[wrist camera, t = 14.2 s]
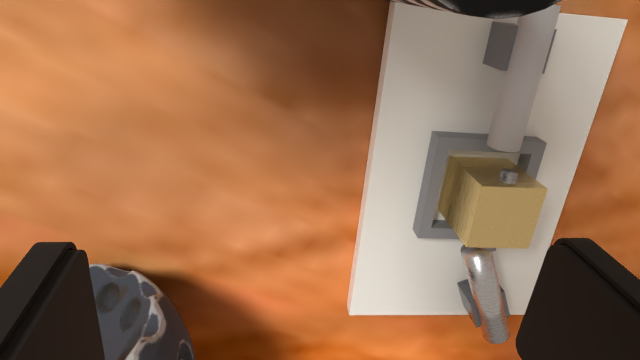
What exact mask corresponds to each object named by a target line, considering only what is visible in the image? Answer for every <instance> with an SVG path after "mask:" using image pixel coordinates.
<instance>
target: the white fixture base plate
mask: <svg viewBox="0 0 640 360" xmlns="http://www.w3.org/2000/svg"><path fill="white" fill-rule="evenodd" d="M560 9H561V5H552V6H550V7H548V8H546V9H544V10H541V11H538V12H534V13H531V14H528V15H525V16H521V17H513V18H503V19H490V18H482V17H474V16H468V15H462V14H457V13H452V12H446V11H441V10H435V9H430V8H425V7H419V6H414V5H408V4H403V3H398V2H392V1H390V6H389V13H388V20H387V27H386V34H385V41H384V48H383V55H382V62H381V69H380V76H379V83H378V90H377V97H376V104H375V111H374V118H373V125H372V132H371V139H370V146H369V153H368V160H367V167H366V174H365V181H364V188H363V195H362V202H361V209H360V216H359V223H358V230H357V237H356V244H355V251H354V258H353V265H352V272H351V279H350V286H349V293H348V300H347V308H348V312H349V315H469V314H468V313H467V311H466V309H465V308H464V306H463V303H462V299H461V296H460V292H459V288H458V285H457V282H460V281H463V280H466V279H468V278H467V274H466V270H465V266H464V262H463V259H462V255H461V247H462V246H463V245H464V244H463V243H462V241H461V240H460V238H459V237H458V236H457V234H456V233H455V232H454V230H453V229H452V228H451V226H450V225H449V224H448V222H447V221H446V220H445V218H444V217H443V216H442V214H441V213H440V211H439V210H438V207H439V203H440V198H441V194H442V189H443V185H444V180H445V176H446V171H447V167H448V162H449V158H450V155H453V156H472V157H492V158H507V159H509V160H510V161H511V162H513V163H514V164H515V165H517V166H518V167H519V168H521V169H522V170H523V171H525V172H526V173H527V174H529V175H530V176H531V177H533V178H534V179H535V180H537V181H538V182H539V183H541V184H542V185H543V186H545V187H546V188H547V189H548V190H547V194H546V197H545V200H544V203H543V206H542V209H541V212H540V215H539V218H538V221H537V224H536V227H535V230H534V233H533V236H532V239H531V242H530V245H529V249H522V248H496V251H492V255H493V260H494V264H495V269H496V273H497V277H498V282H499V285H500V286H501V287H502V288H503V290H504V291H505V295H506V300H507V304H508V309H509V313H510V315H524V314H525V312H526V309H527V306H528V303H529V300H530V298H531V295H532V292H533V289H534V286H535V283H536V281H537V278H538V275H539V272H540V269H541V267H542V264H543V261H544V258H545V255H546V252H547V250H548V248H549V246H550V243H551V241H552V238H553V235H554V232H555V229H556V226H557V223H558V220H559V217H560V215H561V212H562V209H563V206H564V203H565V200H566V197H567V194H568V191H569V189H570V186H571V183H572V180H573V177H574V174H575V171H576V168H577V165H578V163H579V160H580V157H581V154H582V151H583V148H584V145H585V142H586V139H587V137H588V134H589V131H590V128H591V125H592V122H593V119H594V116H595V114H596V111H597V108H598V105H599V102H600V99H601V96H602V93H603V90H604V88H605V85H606V82H607V79H608V76H609V73H610V70H611V67H612V64H613V62H614V59H615V56H616V53H617V50H618V47H619V44H620V41H621V38H622V36H623V33H624V30H625V27H626V24H627V21H628V20H627V19H618V18H608V17H598V16H588V15H578V14H567V13H559V12H560Z"/></svg>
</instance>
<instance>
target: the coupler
mask: <svg viewBox="0 0 640 360" xmlns="http://www.w3.org/2000/svg"><path fill="white" fill-rule="evenodd" d="M547 190H548V189H547V188H546V187H545V186H543V185H542V184H541V183H539V182H538V181H537V180H535V179H534V178H533V177H531V176H530V175H529V174H527V173H526V172H525V171H523V170H522V169H521V168H519V167H518V166H517V165H515V164H514V163H513V162H511V161H510V160H509V159H507V158H492V157H472V156H453V155H450V158H449V162H448V167H447V171H446V176H445V180H444V185H443V189H442V194H441V198H440V203H439V207H438V210H439V211H440V213H441V214H442V216H443V217H444V218H445V220H446V221H447V222H448V224H449V225H450V226H451V228H452V229H453V230H454V232H455V233H456V234H457V236H458V237H459V238H460V240H461V241H462V243H463V244H464V245H465V247H476V248H482V249H484V250H487V251H496V248H522V249H529V245H530V242H531V239H532V236H533V233H534V230H535V227H536V224H537V221H538V218H539V215H540V212H541V209H542V206H543V203H544V200H545V197H546V194H547Z"/></svg>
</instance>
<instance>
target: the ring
mask: <svg viewBox="0 0 640 360" xmlns="http://www.w3.org/2000/svg"><path fill="white" fill-rule="evenodd" d="M89 270H90V275H91V281H92V287H93V292H94V298H95V304H96V309H97V315H98V321H99V326H100V332H101V338H102V343H103V349H104V354H105V360H195V353H194V349H193V344H192V341H191V338H190V335H189V333H188V331H187V329H186V326H185V324H184V322H183V320H182V318H181V316H180V314H179V313H178V311H177V309H176V308H175V306H174V305H173V303H172V302H171V300H170V299H169V297H168V296H167V295H166V294H165V293H164V292H163V291H162V290H161V289H160V288H159V287H158V286H157V285H156V284H154V283H153V282H152V281H151V280H149V279H148V278H147V277H145V276H144V275H142V274H141V273H139V272H137V271H131V272H130V271H124V270H121V269H118V268H115V267H112V266H109V265H106V264H90V265H89Z"/></svg>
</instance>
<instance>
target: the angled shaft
mask: <svg viewBox="0 0 640 360" xmlns="http://www.w3.org/2000/svg"><path fill="white" fill-rule="evenodd" d="M461 255H462V259H463V262H464V266H465V270H466V274H467V278H468V279H466V280H463V281H460V282H457V285H458V288H459V292H460V296H461V299H462V303H463V306H464V308H465V309H466V311H467V313H468V314H469V316H470V318H471V319H472V321H473V323H474V324H475V326H476V328H477V327H481V331H482V335H483V337H484V339H485V340H486V341H488V342H490V343H493V344H500V343H503V342H505V341H507V340H508V338H509V337H510V330H509V326H508V322H507V317H508V316H510V313H509V309H508V304H507V300H506V295H505V291H504V290H503V288H502V287H501V286H500V285H499V282H498V277H497V273H496V269H495V264H494V260H493V255H492V251H487V250H484V249H482V248H476V247H465V245H463V246H462V247H461Z"/></svg>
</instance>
